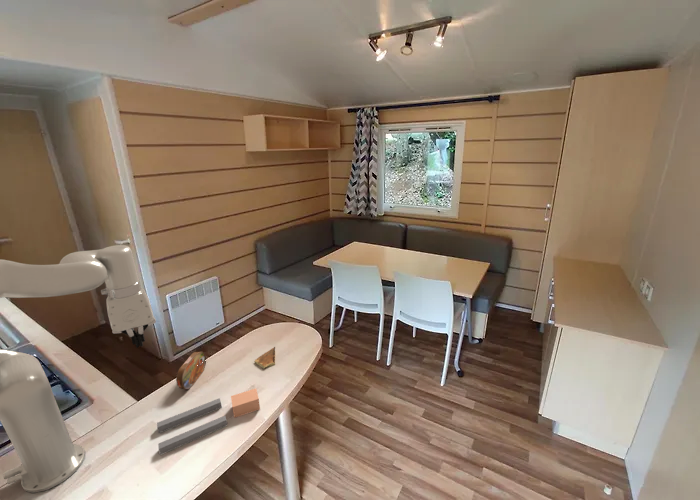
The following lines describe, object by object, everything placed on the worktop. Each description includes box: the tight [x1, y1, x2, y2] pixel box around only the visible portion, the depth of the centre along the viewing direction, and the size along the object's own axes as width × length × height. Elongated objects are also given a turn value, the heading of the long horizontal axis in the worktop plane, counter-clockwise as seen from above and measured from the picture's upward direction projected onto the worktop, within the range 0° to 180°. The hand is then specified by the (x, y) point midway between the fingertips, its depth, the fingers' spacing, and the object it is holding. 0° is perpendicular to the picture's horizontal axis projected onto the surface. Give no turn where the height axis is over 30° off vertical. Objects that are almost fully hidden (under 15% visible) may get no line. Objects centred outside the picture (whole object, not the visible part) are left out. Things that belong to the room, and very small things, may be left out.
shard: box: [253, 346, 276, 369], centre depth 127 cm, size 11×8×2 cm
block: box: [230, 387, 261, 418], centre depth 103 cm, size 8×5×4 cm, turn 115°
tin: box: [175, 351, 207, 390], centre depth 115 cm, size 15×3×8 cm, turn 175°
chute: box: [156, 397, 228, 456], centre depth 97 cm, size 18×10×2 cm, turn 122°
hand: (139, 344), depth 95 cm, fingers closed
